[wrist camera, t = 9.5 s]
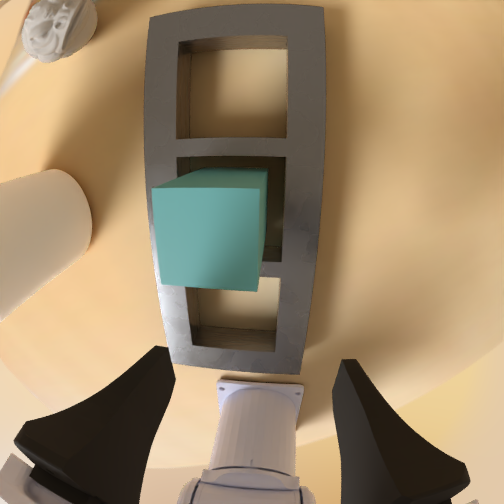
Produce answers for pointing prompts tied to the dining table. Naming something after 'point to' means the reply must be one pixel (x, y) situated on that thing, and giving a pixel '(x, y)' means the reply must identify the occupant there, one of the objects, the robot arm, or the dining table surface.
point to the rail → (292, 148)
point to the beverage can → (39, 233)
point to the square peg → (212, 228)
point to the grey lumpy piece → (58, 28)
